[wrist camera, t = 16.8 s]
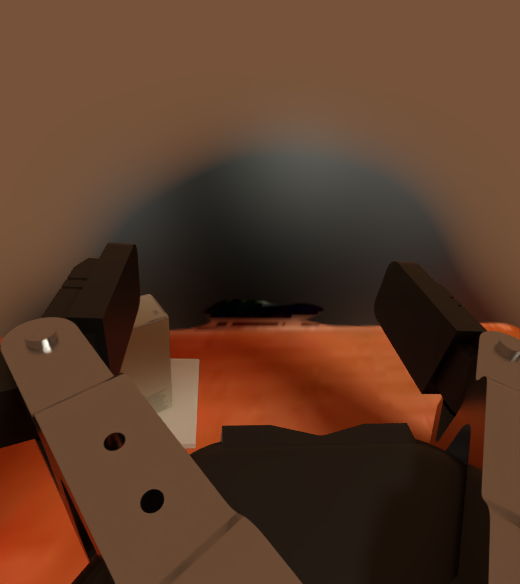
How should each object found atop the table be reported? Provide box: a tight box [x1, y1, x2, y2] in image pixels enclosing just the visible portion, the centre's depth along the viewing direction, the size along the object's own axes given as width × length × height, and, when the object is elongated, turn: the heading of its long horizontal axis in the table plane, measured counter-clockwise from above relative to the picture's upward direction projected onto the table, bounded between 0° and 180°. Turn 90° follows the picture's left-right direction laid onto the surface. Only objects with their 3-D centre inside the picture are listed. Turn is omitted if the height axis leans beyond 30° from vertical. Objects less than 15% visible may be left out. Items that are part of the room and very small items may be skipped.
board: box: [158, 358, 200, 448], centre depth 40 cm, size 12×12×1 cm
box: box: [119, 294, 172, 414], centre depth 35 cm, size 5×4×13 cm
